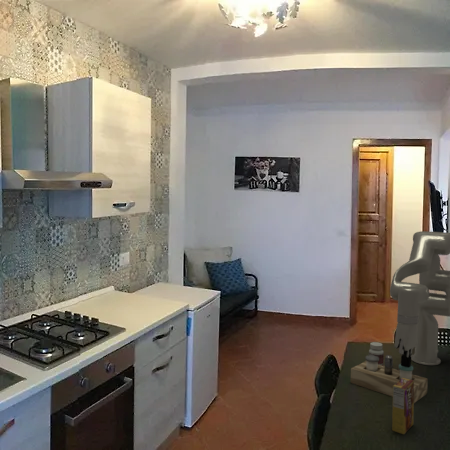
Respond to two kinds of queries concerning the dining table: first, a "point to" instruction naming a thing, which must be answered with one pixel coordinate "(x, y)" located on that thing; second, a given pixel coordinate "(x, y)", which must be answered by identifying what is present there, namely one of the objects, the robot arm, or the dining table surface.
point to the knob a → (372, 363)
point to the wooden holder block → (385, 380)
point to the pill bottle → (377, 351)
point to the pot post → (388, 365)
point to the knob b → (405, 372)
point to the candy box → (403, 405)
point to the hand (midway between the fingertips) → (405, 366)
